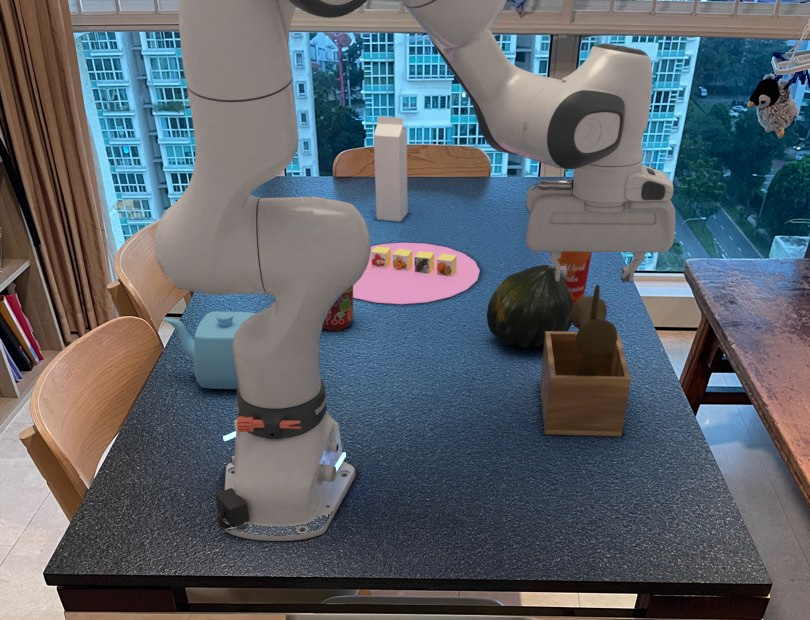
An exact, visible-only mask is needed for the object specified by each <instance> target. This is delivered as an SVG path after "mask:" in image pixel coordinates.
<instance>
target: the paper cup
mask: <svg viewBox="0 0 810 620" xmlns="http://www.w3.org/2000/svg"><path fill="white" fill-rule="evenodd" d="M592 255H593V252H561V257H560V259H558V261H559V263H560V265H561V266H566V267H567V275H566V281H564V282H565V283H566V285H567V287H568V288H569V292H570V296H571V298H572V300H573V304H575V302H576V301H577V300H579V299H581V298H583V297H585V293H586V287H587V281H588V275H589V271H590V266H591V265H590V264H591V260H592ZM553 268H554V269H555V267H554V266H553ZM555 270H556V269H555Z"/></svg>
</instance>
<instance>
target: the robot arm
mask: <svg viewBox="0 0 810 620" xmlns="http://www.w3.org/2000/svg"><path fill="white" fill-rule="evenodd" d="M367 1H368V0H178V27H179V43H180V52H181V59H182V68H183V75H184V79H185V85H186V90H187V95H188V96H187V97H188V101H189V107H190V113H191V121H192V127H193V128H192V129H193V138H194V145H195V146H194V148H195V150H194V151H195V157H194V158H195V159H194V166H193V171H192V175H191V178H190V180H189V183H188V185H187V187H186V188H185V190H184V192H183V193H182V194H181V196H180V197H179V198H178V199H177V200H176V201H175V202H174V203H172V205H170V206H169V207H168V208H167V209H166V210H165V211H164V213H163V214H162V216H161V217H160V219H159V221H158V223H157V226H156V229H155V233H154V244H153V245H154V247H153V248H154V254H155V257H156V261H157V264H158V266H159V269H160V271H161V272H162V273H163V275H164V277H165V278H166V279H167V281H168V282H169V283H170V284H171V285H172V286H173V287H174V288H176V289H178V290H181V291H182V290H183V291H188V292H193V293H197V294H206V295H211V296H226V295H228V296H231V295H263V294H266V295H271V296H273V298H274V299H275V300H274V302H272V303H271V304H270V305H269V306H267V307H266V308H264V309H262V310H260V311H258V312H256V313H254V315H253V316H251V317H250V318H248V319H247V320H246V321H245V322H244V323H243V324H242V325H241V326H240V327H239V328H238V330H237V332H236V334H235V336H234V339H233V353H234V360H235V366H236V373H237V379H238V386H239V387H238V389H236V401H235V402H236V403H235V404H236V411H237V418H236V419H235V420H233V424H234V430H235V431H233V432H230V433H229V434H226V435H223V436H222V438H223V441H224V442H226V441H229V440H231V439H233V438H234V439H235V441H234V455H232V456H231V458H230V462H229V463H228V464H227V465H226V466H225V477H224V490H222V491H220V492H217V493H215V494H214V496H215V502H216V507H217V512H218V513H219V514H218V516H217V523H218V525H219V527H220V528H221V529H223V531H224V532H226V533H228V534H229V535H232V536H235V537H239V538H242V539H248V540H256V541H267V542H268V541H269V542H289V541H290V542H291V541H292V542H293V541H299V540H300V541H301V540H307V539H311V538H315V537H318V536H321V535H323V534H325V532H326V531H327V530H328V528H329V526H330V524H331V522H332V520H333V519H334V517H335V516H336V515H335V514H336V513H337V511H338V509H339V508H340V505H341V504H342V502H343V500H344V498H345V497H346V494H347V493H348V491H349V489H350V487H351V485H352V483H353V482H354V481H355V480H354V479H355V478H356V475H357V474H356V469H355V467H354V466H353V465H351V464H350V463H348V462H346V461H344V460H345V458H346V457H347V454H346V451H344V452H343V447H342V439H341V432H340V424H339V423H338V422H337V421H336V419H334V418H333V417H332V416H331V415H330V414H329V412H328V411H327V409H328V406H327V400H328V399H327V398H328V397H327V391H326V387H325V383H324V380H323V379H322V376H321V335H322V329H323V328H322V326H323V323H324V320H325V318H326V316H327V314H328V312H329V310H330V309H331V307H332V305H333V304H334V303H335V301H336V300H337V299H338V298H339V297H340V296H341V295H342V294H343V293H344V292H345V291H346V290H348V289H349V288H350V287H352V286H353V285H354V284H355V283H356V282H357V281H358V280H359V279H360V278H361V277H362V275H363V273H364V272H365V270H366V268H367V265H368V262H369V259H370V253H371V246H372V238H371V234H370V229H369V226H368V224H367V222H366V219H365V218H364V217H363V215H362V213H361V212H360V211H359V209H357V207H355V205H353V203H349V202H345V201H341V200H336V199H332V198H331V199H330V198H326V197H319V196H295V197H294V196H292V197H291V196H290V197H289V196H287V197H285V196H284V197H259V196H254V195H253V194H252V193H253V192H254V191H255V190H256V189H257V188H259V187H260V186H262V185H263V184H266V183H268V182H269V181H272V180H273V179H275V178H276V177H278V176H279V175H281V174H282V172H284V171H285V170H286V169H287V168H288V167H289V165H290V164H291V163H292V161H294V158H295V156H296V155H297V152H298V149H299V143H300V135H299V127H298V126H299V125H298V118H297V117H298V116H297V108H296V106H297V105H296V98H295V97H296V96H295V87H294V78H293V77H294V76H293V68H292V58H291V53H290V46H289V42H290V32H291V31H290V30H291V24H292V21H293V18H294V14H295V12H296V10H297V8H298V9H299V10H301V11H302V12H305V13H307V14H310V15H313V16H315V17H318V18H319V17H320V18H324V19H325V18H327V19H332V18H333V19H334V18H341V17H344V16H347V15H349V14H351V13H353V12H355V11H356V10H358V9H359V8H360V7H362V6H363V5H364V4H365V3H367ZM399 1H400V2H401V3H402V5H403V6H404V7H405V8H406V10H407V11H408V12H409V14H410V15H411V16H412V17H413V18H414V20H416V22H417V23H418V24H419V25H420V27H421V28H422V29H423V30H424V32H425V33H426V35H427V36H428V39H429V40H430V41H431V43H432V45H433V47H434V49H435V50H436V51H437V53H438V55H439V56H440V57H441V60H443V61H444V63H445V65H446V66H447V67H448V69H449V70H450V72H451V73H452V74H453V76H454V78H455V79H456V80H457V82H458V83H459V85H460V86H461V88H462V89H463V90H464V92H465V93H466V95H467V96H468V98H469V100H470V103H471V105H472V107H473V110H474V113H475V116H476V120H477V123H478V127H479V129H480V133H481V135H482V137H483V138H484V141H485V142H486V143H487V144H488V145H489V146H490V147H491V148H492V149H494V150H495V151H497V152H500V153H505V154H510V155H514V156H520V157H522V158H525V159H528V160H531V161H535V162H537V163H541V164H544V165H546V166H547V165H548V166H550V167H553V168H557V169H561V170H573V172H572V179H571V180H570V179H567V180H566V179H565V180H562V179H561V180H548V179H546V180H544V179H543V180H539V181H538V183H534V184H533V185H532V186H530V187H529V188H528V190H527V193H526V202H525V203H526V204H525V207H526V210H527V211H528V214H529V215H528V220H527V224H526V225H527V226H526V233H525V243H526V247H528V248H529V250H530V251H531V252H549V258H550V260H551V263H552V265H553V268H554V267H555V269H556V273H555V279H556V281H566V275H567V267H566V266H561V265H560V263H559V261H558V259H560V257H561V252H592V253H632V256H633V259H632V260H631V261H630V263H629V264H628V265H627V266H626V265H625V266H624V265H623V266H621V267H622V268H621V274H620V280H621V282H622V283H633V281H634V276H635V272H636V271H637V270H638V269H639V267H640V266H641V264H642V263H643V262H644V261H645V257H646V253H663V254H664V253H667V252H668V251H669V250H670V249H671V248H672V247H673V245H674V243H675V242H674V241H675V233H676V209H675V207H674V205H673V203H672V201H671V199H672V198H673V195H674V190H675V189H674V184H673V182H672V180H671V178H670V177H669V176H668V175H667V174H666V172H664V171H662V170H659V169H655V168H652V167H650V166H647V165H645V164H643V158H644V152H643V138H644V134H645V131H646V129H647V127H648V123H649V117H650V111H651V101H652V90H653V66H652V60H651V56H650V55H648V53H646V52H645V51H644V50H642V49H640V48H634V47H629V46H623V45H618V44H613V43H598V44H595V45H593V46H592V47H591V49H590V51H589V54H588V56H587V58H586V59H585V61H584V62H583V63H582V64H580V66H579V67H577V68H576V69H575V70H574V71H572V72H571V73H569V74H568V75H567V76H565V77H562V78H561V79H558V78H553V77H549V76H545V75H542V74H537V73H534V72H532V71H530V70H527V69H523V68H520V67H518V66H516V65H515V64H513V63H512V62H511V61H510V60H509V59H508V57H507V56H506V54H505V52H504V51H503V49H502V48H501V46H500V44H499V42H498V41H497V39H496V38H495V36H494V34H493V33H492V31H491V29H492V27H493V26H494V25H495V23H496V22H497V20H498V18H499V17H500V15H501V13H502V12H503V11H504V8H505V6H506V3H507V0H399ZM332 511H333V512H332ZM331 512H332V514H331ZM328 514H329V515H330V514H331V515H330V517H329V519H328V521H327V523H326V524H325V526H324V527H323V528H322V529H320V530H317V531H314V532H310V533H306V534H300V535H289V536H267V535H254V534H247V533H242V532H238V531H244V530H247V529H248V528H249V525H248V524H244V523H245V522H247V523H252V524H255V525H261V526H267V527H268V526H270V527H272V526H295V525H301V524H306V523H308V522H311V521H315V520H314V519H318V518H317V516H318V517H320V518H322V517H325V516H326V517H328ZM322 515H324V516H322ZM224 518H225V520H226V521H227V522H228V523H229V524H230V525H229V524H226V523H225V522H224V521H223V519H224ZM231 526H232V527H236V526H237V527H236V529H237V530H238V531H235V530H232V529H229V530H226V528H229V527H231ZM308 530H309V528H308V527H307V526H304V525H302V526H298V527H297V528H296V531H297V532H299V533H305V532H307V531H308Z"/></svg>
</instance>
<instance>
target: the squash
mask: <svg viewBox="0 0 810 620" xmlns="http://www.w3.org/2000/svg"><path fill="white" fill-rule="evenodd" d="M555 273H556V270H555V269H554V266H551V265H549V264H540V265H536V266H532V267H529V268H526V269H523V270H521V271H518V272H516V273H512V274H510V275H508V276H507V277H506V278H504V279H503V280H502V282H501V283H500V284H499V285H498V287H497V288H496V289H495V290H494V292H493V294H491V297H490V299H489V300H488V304H487V311H486V321H487V327H488V329H489V331H490V333H492V335H493V336H494V337H495V338H497V339H499V341H500V342H501V343H502V344H504V345H506V346H510V347H511V346H516V345H518V346H519V347H520V348H525V349H526V348H528V347H530V346H531V347H532V348H539V347H542V348H544V339H545V331H560V332H569V330H570V328H571V326H572V325H573V324H572V322H571V316H570V313H571V310H572V306H573V305H574V304H573V300H572V298H571V296H570V292H569V288H568V287H567V285H566V283H565V282H564V281H556V279H555Z"/></svg>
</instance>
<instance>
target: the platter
mask: <svg viewBox="0 0 810 620" xmlns="http://www.w3.org/2000/svg"><path fill="white" fill-rule="evenodd" d="M480 271H481V270H480V268H479V267H478V264H477V262H476V261H475V260H474V259H473V258H471V257H469V256H468V255H467V254H465V253H464V252H461V251H458V250H456V249H453V248H451V247H447V246H441V245H437V244H436V245H435V244H431V243H421V242H420V243H418V242H394V243H393V242H392V243H381V244H376V245H371V253H370V259H369V262H368V265H367V268H366V270H365V272H364V273H363V275H362V277H361V278H360V279H359V280H358V281H357V282H356V283H355V284H354V285H353V299H356V300H360V301H364V302H370V303H374V304H381V305H382V304H384V305H399V306H400V305H401V306H402V305H404V306H405V305H415V304H416V305H417V304H427V303H433V302H437V301H441V300H445V299H450V298H452V297H455V296H457V295H459V294H461V293H463V292H466V291H468V290H469V289H470V288H471V287H472V286H473V285H475V284H476V283H477V282H478V280H479V276H480Z"/></svg>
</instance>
